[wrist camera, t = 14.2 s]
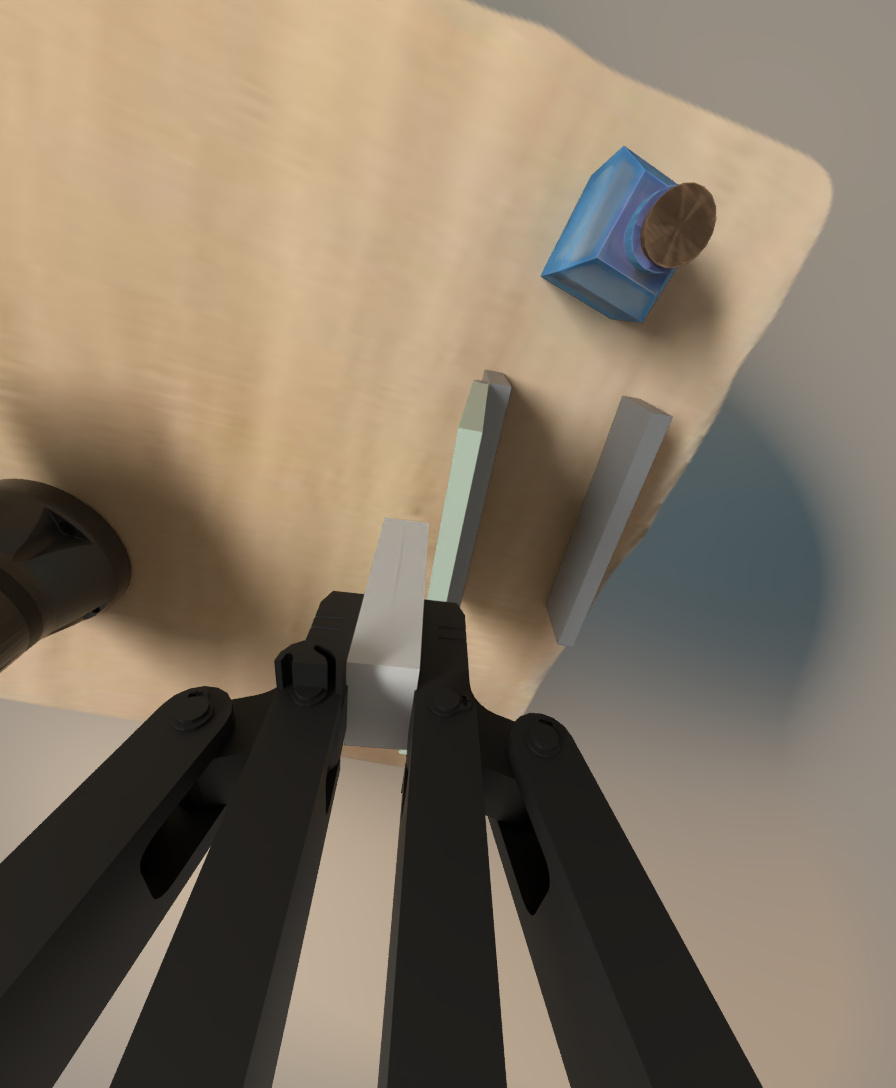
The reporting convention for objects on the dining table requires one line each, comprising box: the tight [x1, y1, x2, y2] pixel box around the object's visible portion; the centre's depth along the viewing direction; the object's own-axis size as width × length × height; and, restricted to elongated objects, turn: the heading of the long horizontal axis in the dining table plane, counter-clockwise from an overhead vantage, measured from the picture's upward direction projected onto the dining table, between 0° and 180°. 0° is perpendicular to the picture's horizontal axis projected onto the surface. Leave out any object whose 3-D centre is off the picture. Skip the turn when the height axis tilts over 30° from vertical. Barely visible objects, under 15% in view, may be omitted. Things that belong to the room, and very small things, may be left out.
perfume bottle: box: [541, 146, 716, 323], centre depth 24 cm, size 6×6×12 cm
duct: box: [446, 370, 672, 647], centre depth 37 cm, size 13×22×6 cm, turn 170°
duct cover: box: [399, 380, 488, 755], centre depth 28 cm, size 13×22×1 cm
